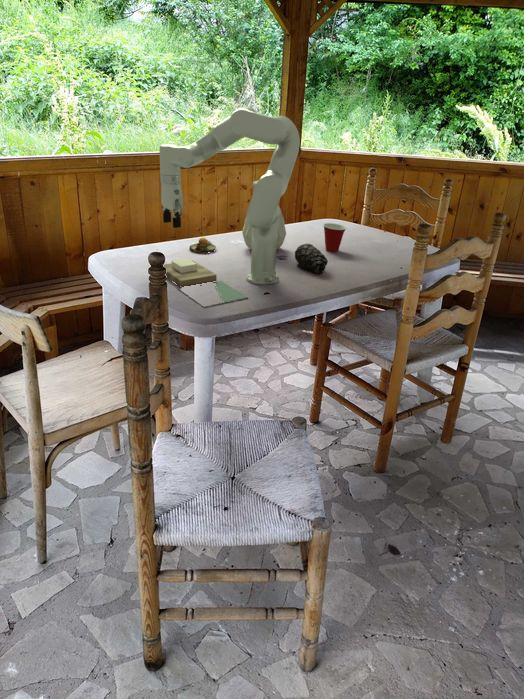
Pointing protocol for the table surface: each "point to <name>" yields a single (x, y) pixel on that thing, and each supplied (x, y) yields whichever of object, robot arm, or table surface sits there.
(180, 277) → the wooden board
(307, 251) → the pine cone
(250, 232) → the vase
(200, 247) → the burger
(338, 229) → the plastic cup
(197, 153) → the robot arm
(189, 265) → the tile
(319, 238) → the table surface
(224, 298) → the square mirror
